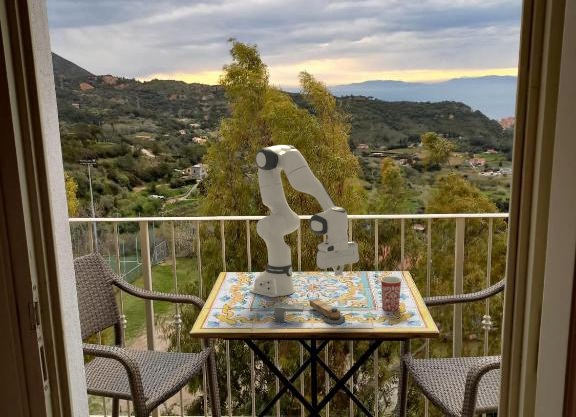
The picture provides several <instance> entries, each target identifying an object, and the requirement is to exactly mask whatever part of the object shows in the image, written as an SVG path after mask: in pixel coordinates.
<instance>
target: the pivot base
mask: <svg viewBox="0 0 576 417" xmlns="http://www.w3.org/2000/svg"><path fill="white" fill-rule="evenodd" d="M323 322H325V323H326V324H329V325H341V324H344V323H345V322H346V317H345V316H344V315H343V314H340V319H337V320H333V319H329V317H327V316H326V315H324V316H323Z"/></svg>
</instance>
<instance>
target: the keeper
mask: <svg viewBox="0 0 576 417" xmlns="http://www.w3.org/2000/svg"><path fill="white" fill-rule="evenodd" d="M304 308H305V304H304V303H286V301H276V302H275V305H274V309H273V311H274V312H273V314H274V323H285V320H286V318H287V312H290V313H291V312H292V313H296V312H297V313H303V312H304V310H305V309H304Z"/></svg>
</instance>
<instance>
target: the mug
mask: <svg viewBox="0 0 576 417" xmlns="http://www.w3.org/2000/svg"><path fill="white" fill-rule="evenodd" d="M402 281H403V280H402V278H400V277H398V276H384V277H381V278H380V282H381V284H380V285H381V288H380V289H381V307H382V309H383V311H387V312H396V311H399V309H400V298H401V287H402Z"/></svg>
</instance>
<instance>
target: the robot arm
mask: <svg viewBox="0 0 576 417" xmlns="http://www.w3.org/2000/svg"><path fill="white" fill-rule="evenodd" d="M255 163H256V166H257V167H258V170H257V171H258V172H257V174H258V175H257V177H258V185H259V186H258V187H259V191H260V197H261V201H262V204H263V205H264V206H266V207H267V208H268V209H269V211H270V212H271V214H270V215H267V216H264V217H263V218H260V219H259V220H258V221H257V223H256V233H257V234H258V236H259V237H260V238H261V239H263V241H264V242H265V244H266V248H267V259H268V263H266V264H264V266H263V269H265V270H264V271H263V272H262V273H260V274H259V275H258V276H256V278H254V284H253V285H252V286H251V287H250V288H249V292H250V293H252V294H253V293H254V294H256V295H257V294H258V295H262V296H265V297H270V298H276V297H283V296H289V295H292V294H294V293H295V291H296V289H295V287H294V283H293V263H292V254H291V252H292V249H291V247H290V245H289V244H287V243H286V242H285V238H284V237H285V236H286V235H290V234H292V233H293V232H295V231H296V230H298V229H299V228H300V225H301V220H300V216H299V215H298V214H297V213H296V212H295V211H293V210H292V209H291V207H290V206H289V204H288V201H287V199H286V198H287V197H286V195H285V190H284V187H283V181H282V177H281V173H282V171H284V173H285V176H286V178H287V180H288V182H289V184H290V186H291V187H292V188H293V189H294V190H295V191H298V192H300V193H305V194H308V195H309V196H312V197H314V198H315V199H316V200H317V202H318V204H319V205H320V207H321V208H322V210H323V211H322V212H319V213H315V214H314V215H313V214H312V216H311V217H310V219H309V229H310V231H311V232H312V233H313V234H314V235H317V236H322V235H325V236H327V239H326V240H325V241H323V242H321V243H319V244H317V249H318V251H317V253H316V266H317V267H318V268H319V269H321V270H324V269H328V268H332V269H333V271H334V276H336V277H337V276H342V275H343V271H344V269H345V265H351V264H357V263H358V262H359V260H360V255H359V253H360V252H359V244H358V243H357V242H356V241H352V242H351V241H349V234H348V230H349V218H348V212H347V210H346V209H345V208H343V207H342V206H337V205H336V203H335V201H334V200H333V198H332V196H331V195H330V193H329V192H328V190H327V189H326V187H325V186H324V184H323V183H322V182H321V181H320V180H319V179H318V178H317V177H316V176H315V175H314V172H312V170H311V168H310V166H309V164H308V162H307V160H306V158H305V157H304V156H303V154H302V153H301V152H300V150H299V149H297V148H296V147H295V146H294V145H292V144H291V145H290V144H275V145H272V146H268V147H267V146H266V147H263V148H260V149H258V150H257V152H256V153H255ZM338 267H339V269H338Z"/></svg>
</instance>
